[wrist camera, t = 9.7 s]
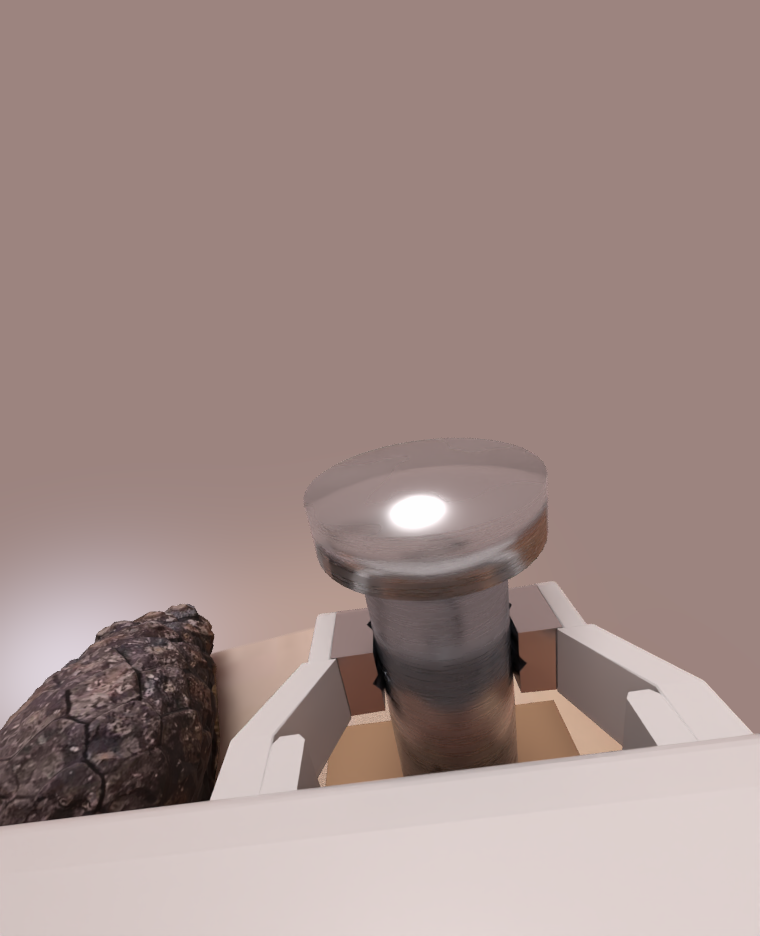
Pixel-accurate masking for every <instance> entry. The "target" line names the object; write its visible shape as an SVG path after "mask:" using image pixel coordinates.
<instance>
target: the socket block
mask: <svg viewBox="0 0 760 936" xmlns="http://www.w3.org/2000/svg"><path fill="white" fill-rule="evenodd" d="M515 715H516V733H517V750H518V763H521V762H529V761H538V760H546V759H554V758H562V757H570V756H578V755H580V754H579V752H578V750H577V748H576V746H575V744H574V742H573V740H572V738H571V735H570V733H569V731H568V729H567V727H566V725H565V723H564V721H563V719H562V717H561V715H560V713H559V710H558V708H557V706H556V704H555V702H554V700H551V701H543V702H536V703H528V704H520V705H515ZM398 777H403V773H402V769H401V764H400V759H399V754H398V749H397V745H396V740H395V735H394V730H393V726H392V721H385V722H377V723H369V724H361V725H353V726H347V727H346V729H345V730H344V732H343V734H342V736H341V738H340V739H339V741H338V743H337V745H336V746H335V748H334V750H333V752H332V753H331V755H330V757H329V759H328V768H327V777H326V786H333V785H341V784H349V783H358V782H366V781H374V780H382V779H390V778H398Z"/></svg>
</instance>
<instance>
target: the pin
mask: <svg viewBox="0 0 760 936" xmlns="http://www.w3.org/2000/svg"><path fill="white" fill-rule="evenodd" d="M304 506H305V510H306V514H307V518H308V522H309V526H310V530H311V534H312V538H313V542H314V546H315V550H316V554H317V558H318V560H319V563H320V565H321V567H322V568H323V569H324V571H325V572H326V573H327V574H328V575H329V576H330V577H331V578H332V579H333V580H335V581H336V582H338V583H339V584H341V585H343V586H344V587H347V588H349V589H351V590H354V591H356V592H359V593H362V594H365V597H366V602H367V607H368V611H369V616H370V621H371V626H372V630H373V635H374V639H375V644H376V649H377V653H378V659H379V664H380V668H381V673H382V677H383V682H384V687H385V692H386V697H387V702H388V707H389V711H390V716H391V721H392V726H393V730H394V735H395V740H396V745H397V749H398V754H399V759H400V764H401V769H402V773H403V777H407V776H415V775H423V774H431V773H439V772H448V771H456V770H464V769H472V768H480V767H489V766H497V765H505V764H513V763H518V750H517V733H516V715H515V698H514V680H513V663H512V645H511V628H510V610H509V593H508V579H510V578H512V577H514V576H516V575H517V574H519V573H520V572H521V571H523V570H524V569H526V568H527V567H528V566H529V565H530V564H531V563H532V562H533V561H534V560H535V559H537V557H538V556H539V554H540V553H541V552H542V550H543V548H544V546H545V544H546V541H547V536H548V492H547V470H546V466H545V465H544V463H543V461H542V460H541V459H540V458H539V457H538V456H536V455H535V454H533V453H532V452H530V451H528V450H526V449H524V448H521V447H518V446H515V445H512V444H508V443H504V442H499V441H493V440H485V439H473V438H442V439H430V440H420V441H412V442H406V443H401V444H395V445H391V446H386V447H382V448H379V449H375V450H372V451H368V452H365V453H362V454H359V455H357V456H354V457H352V458H349V459H347V460H344V461H342V462H340V463H338V464H336V465H334V466H333V467H331V468H330V469H328V470H326V471H325V472H323V473H322V474H320V475H319V476H318V477H317V478H316V479H315V480H314V481H313V482H312V483H311V484H310V485H309V486H308V488H307V490H306V492H305V495H304Z"/></svg>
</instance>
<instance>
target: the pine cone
mask: <svg viewBox="0 0 760 936" xmlns="http://www.w3.org/2000/svg"><path fill="white" fill-rule="evenodd" d="M211 629H212V626H211V624H210V623H209V622H208V620H206V619H205V618H204V617H202V616H200V615H198V613H197V611H196V609H195V608H194V606H192V605H190V604H187V605H185V604H179V605H178V606H171V607H170V608H168V610H167V611H165V612H160V611H158V612H149V613H147V614H145V615H144V616H142V617H140V618H138V619H136V620H134V621H119V622H114V623H113V624H112V625H111V626H110V627H105V628H104V629H102V630H101V631H99V632H98V633H97V635H96V639H95V643H94V644H92V645H90V646H89V648H88V649H87V650H86V651H85V652H84V653H83V654H82V655H81V656H80V657H79V659H74V660H71V661H70V662H69V663H67V664H66V666H64V667H63V668H62V669H61V671H57V672H56V673H54V674H53V675H51V676H50V677H48V678H47V679H46V680H45V682H44V683H43V685H42V686H40V687H39V688H37V689H36V690H35V692H34V693H33V695H32V696H31V697H30V698H29V699H28V700H27V702H25V703H24V704H23V705H22V706H21V707H20V709H19V710H18V711H17V712H16V713H14V714H13V715H12V716H11V717H10V718H9V719H8V721H7V722H6V724H5V725H4V727H3V728H2V729H1V730H0V826H7V825H15V824H23V823H31V822H40V821H48V820H56V819H64V818H72V817H80V816H88V815H97V814H105V813H113V812H121V811H129V810H137V809H145V808H154V807H162V806H170V805H178V804H186V803H194V802H202V801H210V798H211V796H212V793H213V790H214V780H215V774H216V768H217V761H218V752H219V741H220V736H219V721H218V704H217V690H216V665H215V663H214V661H213V660H212V658H211V657H210V654H211V652H212V649H213V646H214V645H213V640H214V634H213V632H212V631H211Z"/></svg>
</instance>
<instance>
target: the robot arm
mask: <svg viewBox="0 0 760 936" xmlns="http://www.w3.org/2000/svg"><path fill="white" fill-rule="evenodd" d="M508 593H509V610H510V628H511V645H512V663H513V674H514V676H515V679H516V681H517V684H518V686H519V688H520V691H521V693H525V692H535V691H545V690H555V689H558V692H559V693H560V694H562V695H563V696H564V697H565V698H566V699H567V700H569V701H570V702H571V703H572V704H573V705H575V706H576V707H577V708H578V709H579V710H580V711H582V712H583V713H584V714H585V715H586V716H587V717H589V718H590V719H591V720H592V721H593V722H595V723H596V724H597V725H598V726H599V727H600V728H602V729H603V730H604V731H605V732H606V733H608V734H609V735H610V736H611V737H612V738H613V739H615V740H616V741H617V742H618V743H619V744H621V745H622V746H623V748H622V750H619V751H611V752H603V753H595V754H587V755H578V756H570V757H562V758H554V759H546V760H538V761H529V762H521V763H513V764H505V765H497V766H489V767H480V768H472V769H464V770H456V771H448V772H439V773H431V774H423V775H415V776H407V777H398V778H390V779H382V780H374V781H366V782H358V783H349V784H341V785H333V786H325V787H320V785H319V782H318V779H317V778H318V776H319V775H320V773H321V771H322V769H323V768H324V766H325V764H326V762H327V761H328V759H329V757H330V755H331V753H332V752H333V750H334V748H335V746H336V745H337V743H338V741H339V739H340V738H341V736H342V734H343V732H344V730H345V729H346V727H347V725H348V723H349V722H350V720H351V716H354V715H360V714H366V713H373V712H379V711H385V687H384V682H383V677H382V673H381V668H380V664H379V659H378V653H377V649H376V644H375V639H374V635H373V630H372V626H371V621H370V616H369V611H368V608H364V609H355V610H347V611H338V612H332V613H324V614H319V615H318V617H317V619H316V624H315V629H314V634H313V639H312V644H311V649H310V654H309V659H308V663H302V664H301V665H300V666H299V667H298V668H297V669H296V671H295V672H294V673H293V674H292V675H291V676H290V677H289V678H288V679H287V680H286V681H285V683H284V684H283V685H282V686H281V687H280V688H279V689H278V690H277V691H276V692H275V693H274V694H273V696H272V697H271V698H270V699H269V700H268V701H267V702H266V703H265V704H264V705H263V706H262V707H261V709H260V710H259V711H258V712H257V713H256V714H255V715H254V716H253V717H252V718H251V719H250V720H249V722H248V723H247V724H246V725H245V726H244V727H243V728H242V729H241V730H240V731H239V732H238V733H237V735H236V736H235V737H234V738H233V739H232V740H231V741H230V744H229V747H228V750H227V753H226V756H225V759H224V761H223V764H222V767H221V770H220V773H219V776H218V778H217V781H216V784H215V787H214V790H213V793H212V796H211V798H210V801H202V802H194V803H186V804H178V805H170V806H162V807H154V808H145V809H137V810H129V811H121V812H113V813H105V814H97V815H88V816H80V817H72V818H64V819H56V820H48V821H40V822H31V823H23V824H15V825H7V826H0V936H760V733H759V734H753V733H752V732H751V731H750V730H749V729H748V728H747V727H746V725H744V723H743V722H742V721H741V720H740V719H739V718H738V717H737V716H736V715H735V714H734V712H733V711H732V710H730V708H729V707H728V706H727V705H726V704H725V703H724V702H723V701H722V700H721V699H720V697H719V696H718V695H717V694H716V693H715V692H714V691H713V690H712V689H711V688H710V687H709V686H708V685H707V683H706V682H705V681H703V680H702V679H700V678H697V677H696V676H694V675H692V674H690V673H688V672H686V671H684V670H682V669H680V668H678V667H676V666H674V665H672V664H670V663H668V662H666V661H664V660H663V659H661V658H659V657H657V656H654V655H653V654H651V653H649V652H647V651H645V650H643V649H641V648H639V647H637V646H635V645H633V644H631V643H629V642H627V641H625V640H623V639H622V638H619V637H617V636H615V635H614V634H612V633H610V632H608V631H606V630H604V629H602V628H600V627H598V626H596V625H594V624H588V625H587V624H586V623H585V621H584V620H583V618H582V617H581V616H580V614H579V613H578V612H577V610H576V609H575V608H574V606H573V605H572V603H571V602H570V601H569V599H568V598H567V596H566V595H565V594H564V592H563V591H562V589H561V588H560V587H559V585H558V584H557V583H556V582H554V581H550V582H544V583H538V584H534V585H529V586H522V587H515V588H508Z"/></svg>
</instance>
